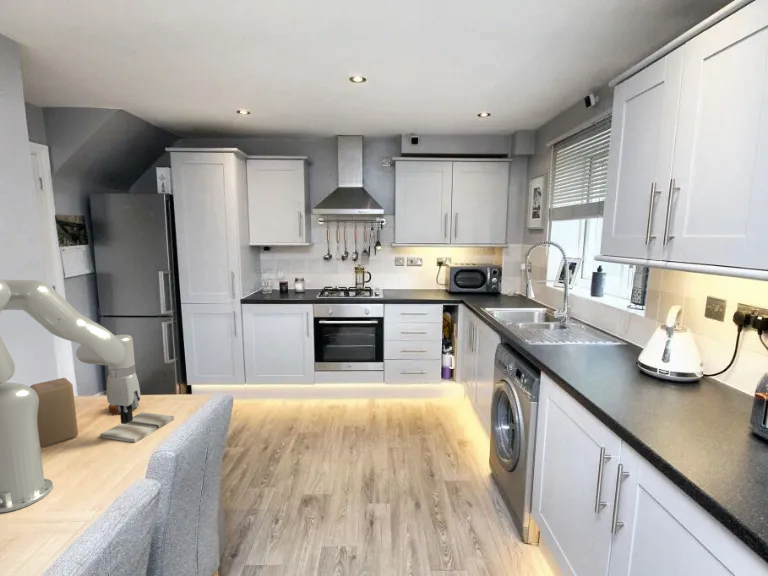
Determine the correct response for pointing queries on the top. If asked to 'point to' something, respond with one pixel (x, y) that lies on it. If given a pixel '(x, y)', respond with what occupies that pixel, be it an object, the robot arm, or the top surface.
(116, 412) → the blueberry muffin
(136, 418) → the laid board
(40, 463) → the robot arm
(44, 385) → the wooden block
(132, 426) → the loose plank
